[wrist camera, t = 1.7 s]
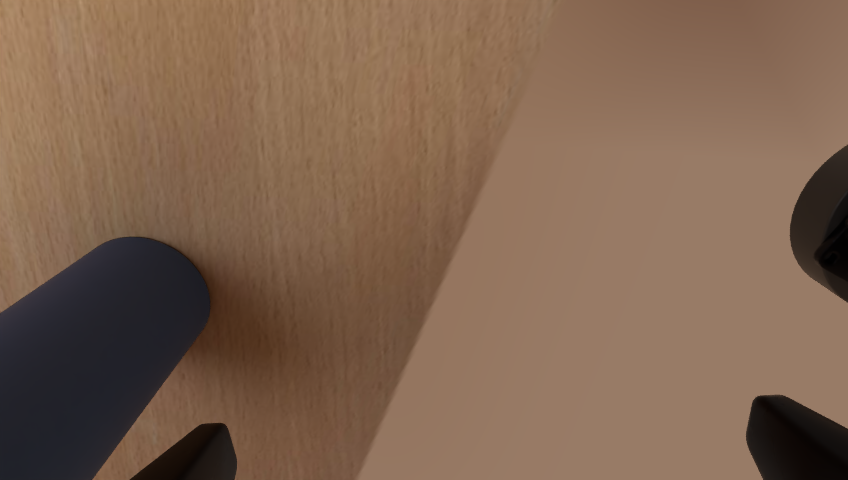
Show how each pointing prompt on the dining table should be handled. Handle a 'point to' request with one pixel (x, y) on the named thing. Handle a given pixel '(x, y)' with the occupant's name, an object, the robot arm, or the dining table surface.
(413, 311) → the dining table surface
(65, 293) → the blue cylinder
